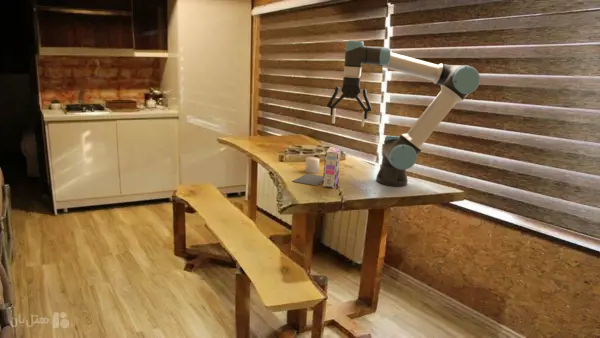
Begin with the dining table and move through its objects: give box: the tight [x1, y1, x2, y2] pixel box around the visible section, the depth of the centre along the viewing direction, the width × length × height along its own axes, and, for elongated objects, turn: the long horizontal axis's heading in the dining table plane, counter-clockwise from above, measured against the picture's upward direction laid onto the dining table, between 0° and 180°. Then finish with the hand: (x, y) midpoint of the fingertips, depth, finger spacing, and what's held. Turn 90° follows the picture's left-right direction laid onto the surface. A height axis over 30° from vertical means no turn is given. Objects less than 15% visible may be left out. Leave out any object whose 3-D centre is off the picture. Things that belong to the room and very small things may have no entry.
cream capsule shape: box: [304, 156, 321, 174], centre depth 236 cm, size 7×7×7 cm
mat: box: [291, 173, 323, 187], centre depth 221 cm, size 12×18×1 cm, turn 157°
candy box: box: [322, 146, 342, 189], centre depth 214 cm, size 14×6×16 cm, turn 168°
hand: (347, 124), depth 209 cm, fingers open, 13 cm apart
